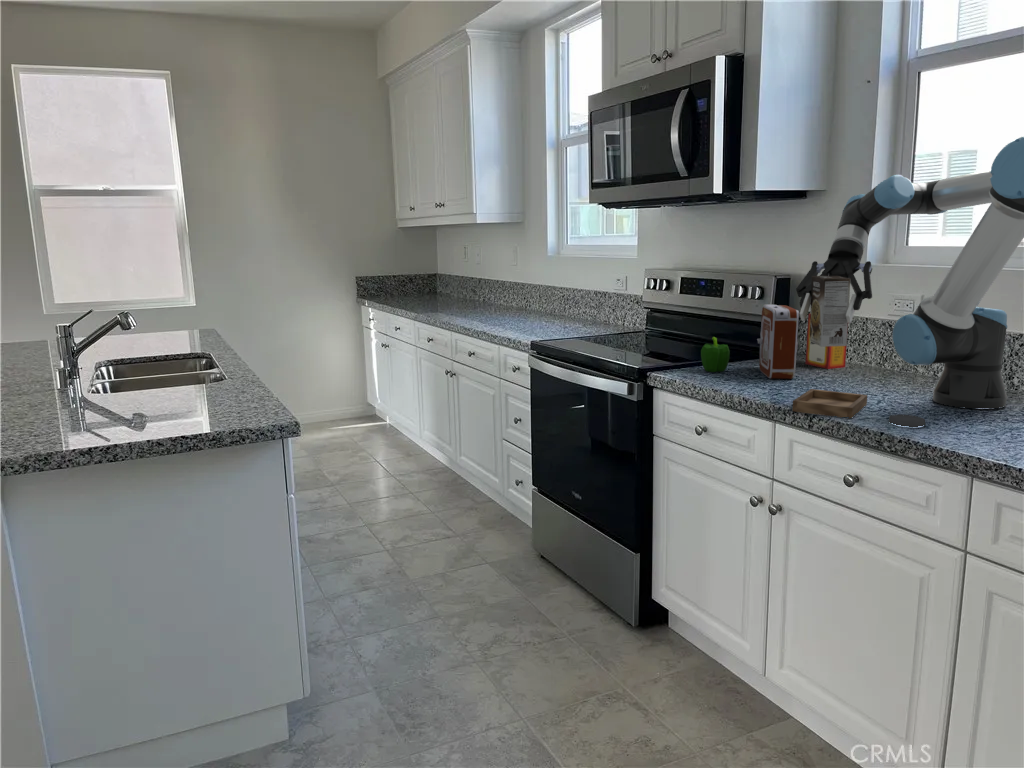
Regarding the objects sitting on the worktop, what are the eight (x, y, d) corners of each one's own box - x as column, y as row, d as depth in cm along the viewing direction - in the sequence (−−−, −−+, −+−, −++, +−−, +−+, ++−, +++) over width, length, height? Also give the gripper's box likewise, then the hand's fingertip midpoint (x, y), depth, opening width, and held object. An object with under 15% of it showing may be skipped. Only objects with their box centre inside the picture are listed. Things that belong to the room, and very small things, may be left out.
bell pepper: (727, 374, 219) (728, 340, 217) (698, 373, 222) (699, 339, 220) (730, 369, 227) (731, 336, 225) (702, 367, 230) (703, 335, 228)
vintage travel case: (782, 367, 228) (785, 301, 224) (799, 380, 209) (804, 308, 205) (750, 367, 229) (754, 301, 225) (765, 380, 210) (769, 308, 206)
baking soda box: (805, 363, 233) (808, 312, 229) (822, 362, 235) (825, 311, 231) (827, 369, 224) (831, 315, 221) (845, 367, 226) (848, 314, 223)
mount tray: (866, 405, 180) (867, 395, 179) (851, 418, 168) (852, 407, 168) (810, 398, 187) (811, 388, 187) (792, 411, 176) (792, 400, 175)
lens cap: (929, 424, 163) (929, 417, 163) (919, 431, 158) (920, 424, 158) (894, 419, 168) (895, 412, 168) (884, 425, 163) (884, 418, 163)
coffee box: (808, 341, 187) (810, 275, 184) (834, 340, 187) (837, 274, 183) (819, 346, 178) (822, 278, 175) (848, 346, 178) (851, 277, 174)
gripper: (899, 258, 183) (878, 330, 174) (804, 258, 197) (781, 325, 188) (895, 236, 178) (873, 310, 169) (798, 238, 192) (774, 306, 183)
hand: (824, 318), depth 179 cm, fingers closed on coffee box, 10 cm apart
